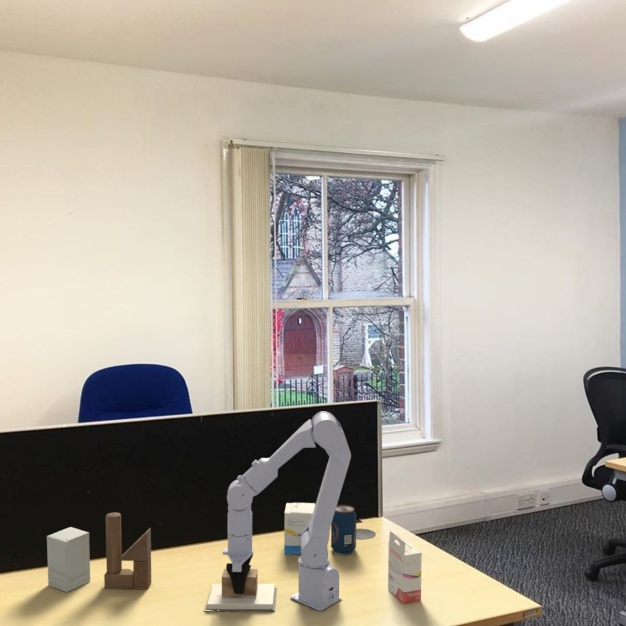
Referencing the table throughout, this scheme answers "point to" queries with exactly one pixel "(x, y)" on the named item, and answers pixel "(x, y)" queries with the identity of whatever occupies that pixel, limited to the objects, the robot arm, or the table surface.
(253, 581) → the block
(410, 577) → the ink cartridge box
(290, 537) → the ink box
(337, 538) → the soda can
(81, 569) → the supplement box
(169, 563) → the table surface
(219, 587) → the marked board
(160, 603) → the table surface
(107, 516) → the wooden block
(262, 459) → the robot arm
